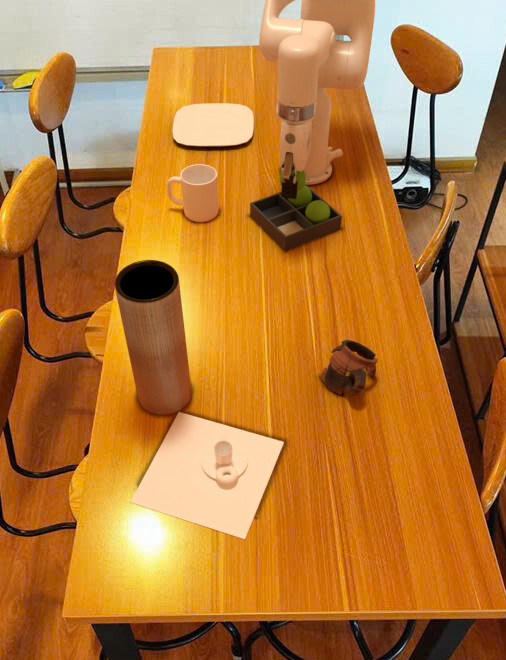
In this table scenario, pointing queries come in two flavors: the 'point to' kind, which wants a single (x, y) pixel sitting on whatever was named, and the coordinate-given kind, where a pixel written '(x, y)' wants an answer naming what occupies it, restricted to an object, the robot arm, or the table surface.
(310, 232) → the rack
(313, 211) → the lime back right
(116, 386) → the table surface
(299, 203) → the lime back left
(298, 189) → the lime
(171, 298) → the vase
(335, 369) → the pottery mug
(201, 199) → the cup
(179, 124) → the plate
